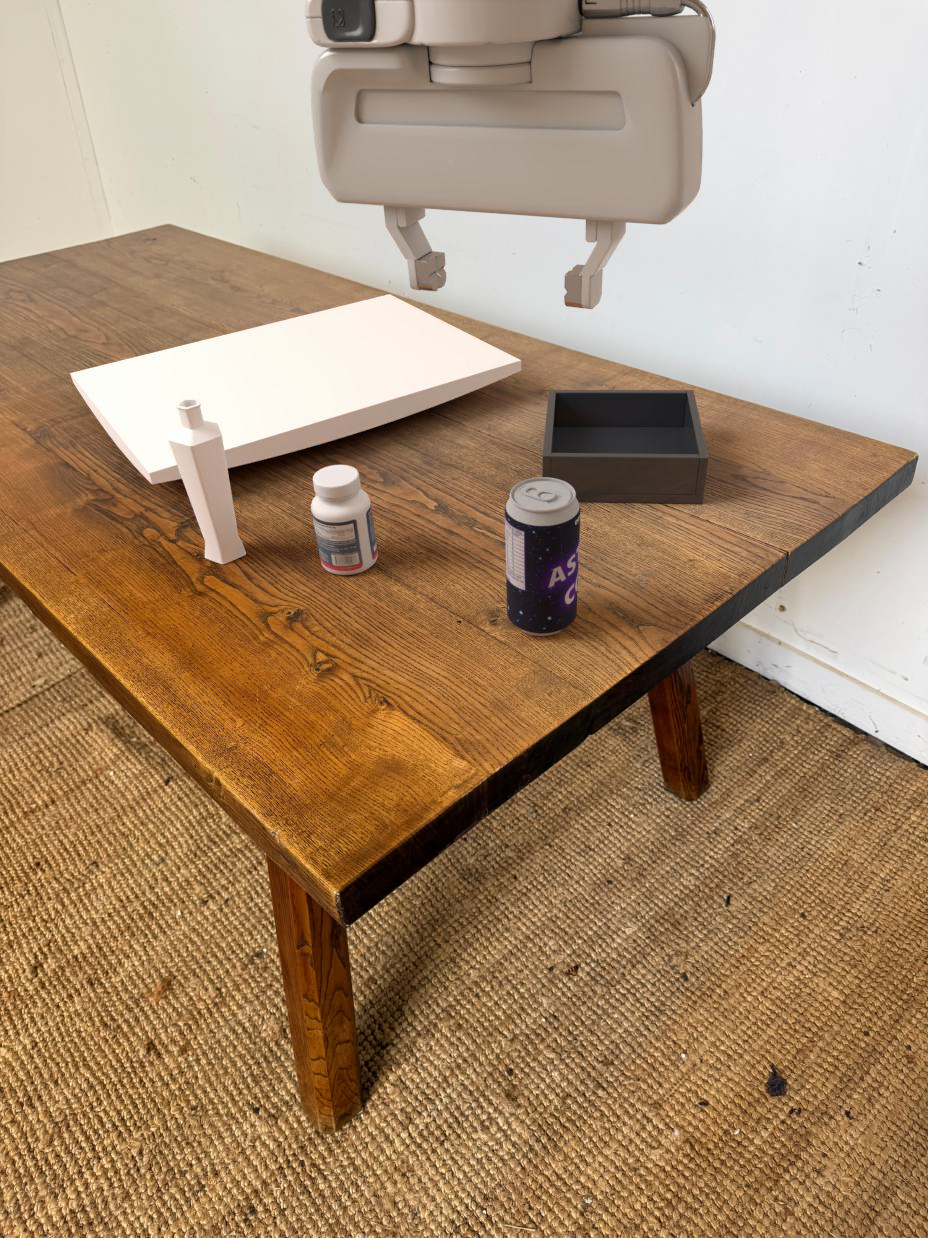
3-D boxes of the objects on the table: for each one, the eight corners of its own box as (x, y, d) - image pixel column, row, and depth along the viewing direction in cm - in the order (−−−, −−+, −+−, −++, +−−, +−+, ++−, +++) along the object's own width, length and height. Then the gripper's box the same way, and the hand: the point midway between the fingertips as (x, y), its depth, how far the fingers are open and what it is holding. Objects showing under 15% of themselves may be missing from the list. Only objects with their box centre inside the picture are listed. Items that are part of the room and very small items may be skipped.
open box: (688, 432, 98) (693, 389, 95) (702, 504, 86) (708, 457, 83) (548, 431, 100) (548, 389, 97) (542, 501, 88) (542, 456, 85)
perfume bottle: (261, 546, 84) (228, 397, 74) (229, 569, 81) (190, 417, 71) (226, 534, 86) (190, 387, 76) (193, 556, 83) (151, 407, 74)
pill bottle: (350, 538, 84) (338, 454, 78) (389, 557, 81) (379, 471, 76) (309, 563, 81) (292, 478, 75) (348, 583, 78) (334, 496, 73)
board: (392, 326, 129) (389, 293, 126) (521, 397, 107) (521, 360, 104) (82, 408, 111) (70, 373, 108) (161, 514, 89) (148, 473, 86)
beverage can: (552, 651, 69) (554, 521, 62) (493, 626, 72) (489, 498, 65) (589, 614, 73) (595, 487, 65) (532, 592, 76) (532, 467, 68)
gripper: (739, -26, 38) (704, 295, 47) (347, -9, 46) (378, 263, 55) (700, -13, 34) (669, 338, 43) (274, 3, 42) (321, 296, 51)
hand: (502, 295), depth 49 cm, fingers open, 8 cm apart
